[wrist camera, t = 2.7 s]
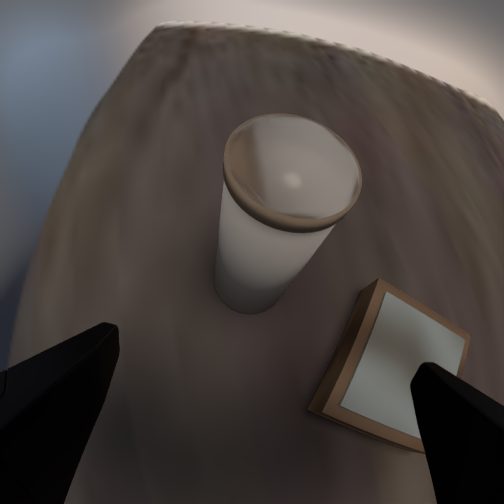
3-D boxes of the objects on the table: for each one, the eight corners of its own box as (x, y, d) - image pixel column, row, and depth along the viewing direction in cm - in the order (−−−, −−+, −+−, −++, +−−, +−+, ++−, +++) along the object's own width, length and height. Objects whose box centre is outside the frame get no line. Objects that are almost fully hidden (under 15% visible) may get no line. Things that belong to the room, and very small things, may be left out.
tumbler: (254, 330, 21) (317, 252, 10) (197, 282, 22) (193, 159, 10) (298, 277, 23) (381, 166, 12) (244, 234, 24) (279, 98, 13)
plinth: (410, 451, 18) (435, 455, 16) (306, 409, 19) (323, 412, 16) (448, 342, 23) (473, 334, 20) (360, 290, 24) (380, 276, 21)
